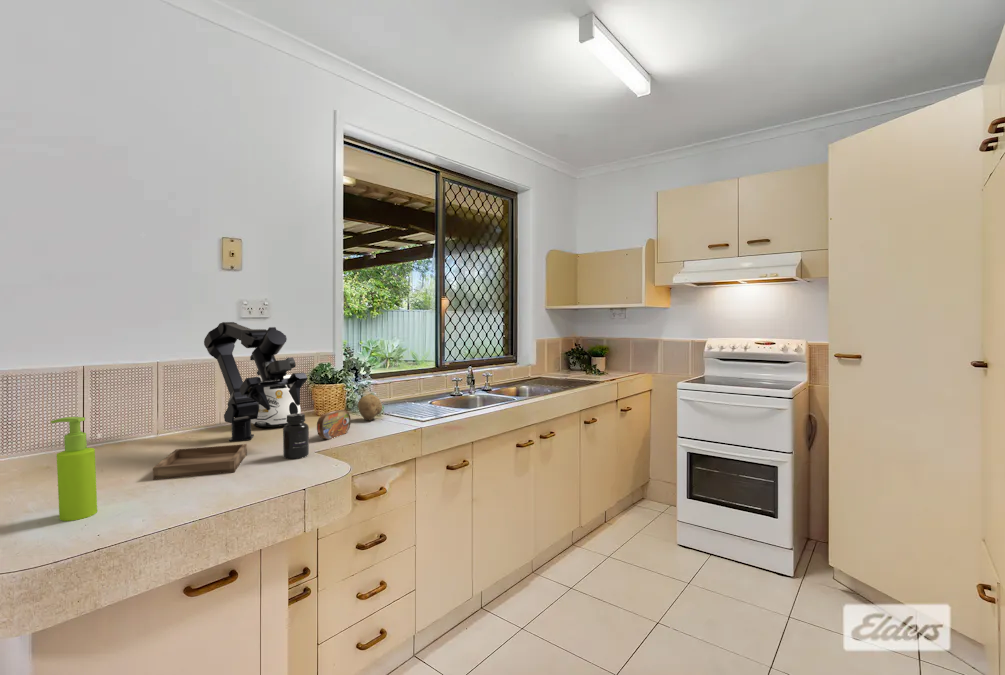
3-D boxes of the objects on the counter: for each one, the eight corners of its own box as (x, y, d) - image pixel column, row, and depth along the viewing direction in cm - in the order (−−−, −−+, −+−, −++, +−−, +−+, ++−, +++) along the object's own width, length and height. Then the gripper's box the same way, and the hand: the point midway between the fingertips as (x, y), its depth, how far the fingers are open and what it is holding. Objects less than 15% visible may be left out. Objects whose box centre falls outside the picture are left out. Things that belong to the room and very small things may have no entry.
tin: (323, 442, 160) (322, 416, 160) (315, 441, 161) (314, 415, 161) (351, 431, 175) (351, 407, 174) (344, 431, 176) (343, 407, 175)
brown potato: (372, 416, 200) (371, 392, 200) (387, 419, 195) (386, 393, 194) (353, 420, 193) (353, 395, 192) (368, 423, 188) (368, 397, 187)
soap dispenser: (69, 510, 104) (64, 415, 103) (104, 509, 105) (100, 414, 104) (45, 521, 98) (41, 421, 98) (83, 520, 99) (79, 420, 98)
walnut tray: (176, 459, 141) (175, 449, 141) (247, 454, 146) (246, 444, 146) (153, 479, 124) (152, 467, 124) (234, 472, 129) (234, 460, 129)
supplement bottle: (299, 460, 140) (298, 417, 139) (278, 458, 141) (277, 416, 141) (313, 453, 147) (313, 412, 146) (293, 452, 148) (292, 412, 148)
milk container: (250, 432, 175) (248, 381, 174) (249, 423, 190) (248, 375, 189) (303, 426, 183) (302, 377, 182) (298, 418, 198) (297, 373, 197)
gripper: (245, 350, 142) (264, 396, 137) (305, 347, 157) (324, 388, 152) (231, 372, 148) (248, 417, 142) (291, 367, 163) (308, 408, 157)
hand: (284, 407), depth 148 cm, fingers open, 9 cm apart
